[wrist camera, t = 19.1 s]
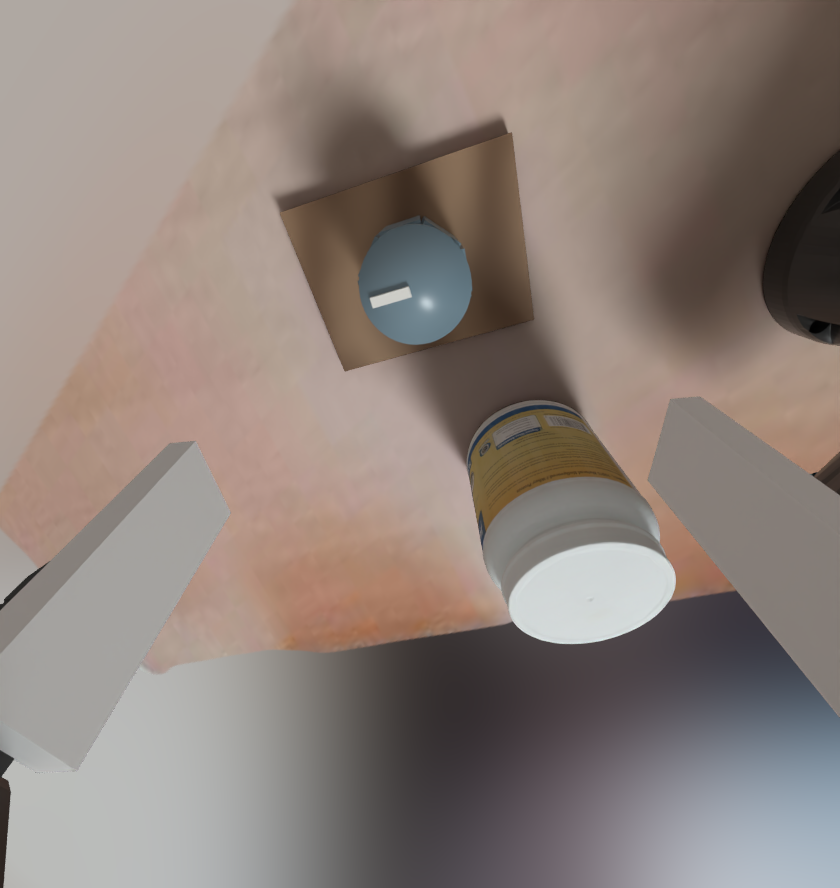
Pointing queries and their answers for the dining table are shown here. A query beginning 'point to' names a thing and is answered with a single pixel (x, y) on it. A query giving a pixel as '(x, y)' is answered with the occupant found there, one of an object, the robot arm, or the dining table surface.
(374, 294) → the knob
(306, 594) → the dining table surface
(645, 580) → the supplement tub
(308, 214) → the stud board
